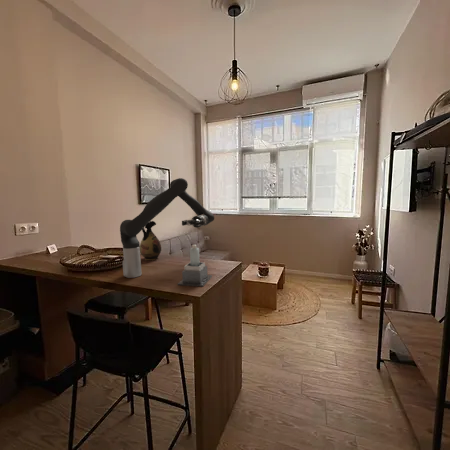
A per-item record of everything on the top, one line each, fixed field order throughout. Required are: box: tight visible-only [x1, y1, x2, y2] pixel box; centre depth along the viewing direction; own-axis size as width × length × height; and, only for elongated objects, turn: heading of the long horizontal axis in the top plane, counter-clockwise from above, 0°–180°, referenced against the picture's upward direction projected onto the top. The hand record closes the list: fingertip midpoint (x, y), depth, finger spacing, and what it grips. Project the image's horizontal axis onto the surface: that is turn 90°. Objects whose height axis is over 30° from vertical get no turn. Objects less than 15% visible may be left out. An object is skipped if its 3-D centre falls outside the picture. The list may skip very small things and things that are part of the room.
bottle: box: [189, 244, 201, 266], centre depth 135 cm, size 5×5×13 cm
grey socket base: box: [177, 261, 213, 288], centre depth 136 cm, size 14×16×9 cm
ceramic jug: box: [139, 220, 162, 261], centre depth 183 cm, size 17×15×30 cm
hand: (189, 223), depth 148 cm, fingers open, 8 cm apart
